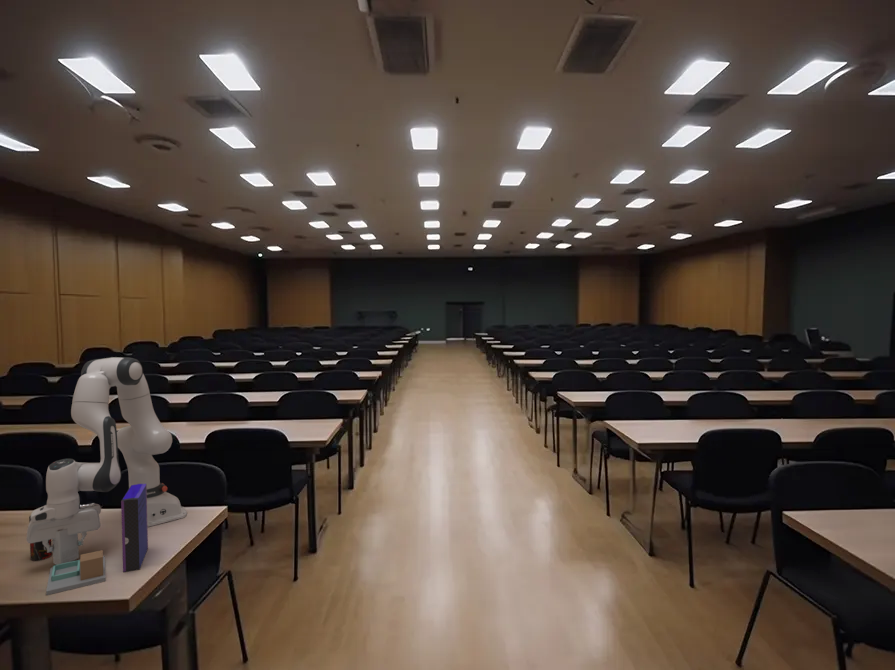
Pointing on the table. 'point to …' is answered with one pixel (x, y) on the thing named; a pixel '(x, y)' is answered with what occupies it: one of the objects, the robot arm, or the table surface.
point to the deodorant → (39, 550)
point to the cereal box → (134, 527)
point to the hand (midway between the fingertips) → (65, 548)
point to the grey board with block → (77, 573)
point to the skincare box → (65, 547)
